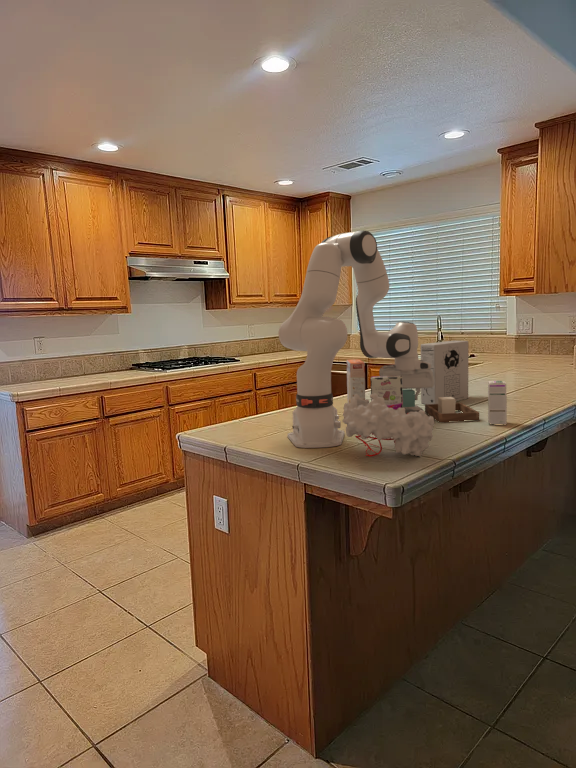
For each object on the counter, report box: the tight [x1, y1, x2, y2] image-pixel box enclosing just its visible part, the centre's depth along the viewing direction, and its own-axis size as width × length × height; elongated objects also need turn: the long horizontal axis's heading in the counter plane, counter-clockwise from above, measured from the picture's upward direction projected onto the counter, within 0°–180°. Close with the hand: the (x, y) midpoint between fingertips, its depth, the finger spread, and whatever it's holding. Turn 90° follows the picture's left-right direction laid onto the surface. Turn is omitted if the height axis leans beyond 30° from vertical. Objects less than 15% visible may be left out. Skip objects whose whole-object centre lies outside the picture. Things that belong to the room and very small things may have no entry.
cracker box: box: [346, 358, 366, 404], centre depth 204 cm, size 14×6×21 cm, turn 179°
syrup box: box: [487, 380, 508, 424], centre depth 177 cm, size 6×6×14 cm
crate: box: [424, 402, 480, 423], centre depth 192 cm, size 19×14×3 cm
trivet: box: [403, 404, 425, 414], centre depth 201 cm, size 10×10×2 cm
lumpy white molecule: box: [342, 393, 435, 457], centre depth 146 cm, size 20×18×25 cm
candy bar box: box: [370, 375, 403, 410], centre depth 188 cm, size 11×5×16 cm, turn 76°
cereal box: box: [420, 340, 469, 405], centre depth 220 cm, size 22×8×25 cm, turn 124°
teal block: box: [402, 389, 416, 407], centre depth 201 cm, size 5×5×6 cm
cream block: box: [438, 397, 456, 414], centre depth 197 cm, size 5×5×6 cm
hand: (406, 400), depth 201 cm, fingers closed on teal block, 5 cm apart
